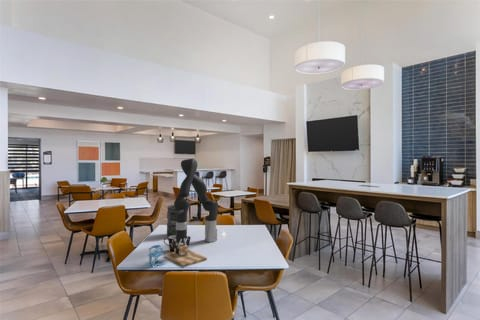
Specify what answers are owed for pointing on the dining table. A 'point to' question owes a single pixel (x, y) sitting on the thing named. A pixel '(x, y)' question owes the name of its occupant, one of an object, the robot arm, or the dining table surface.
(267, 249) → the dining table surface
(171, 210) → the canister
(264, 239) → the dining table surface
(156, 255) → the chair
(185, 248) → the sanding block
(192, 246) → the dining table surface
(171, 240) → the coffee mug
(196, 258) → the board
